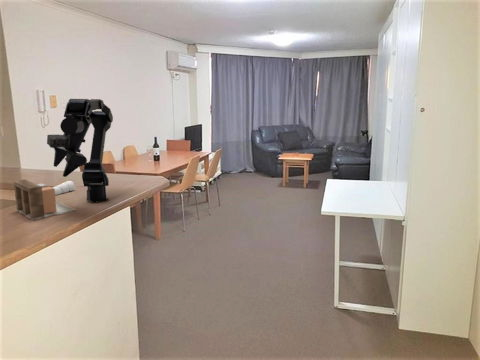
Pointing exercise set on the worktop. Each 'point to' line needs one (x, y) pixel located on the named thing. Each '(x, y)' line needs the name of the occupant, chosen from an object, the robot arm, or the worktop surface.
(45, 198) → the terracotta plug
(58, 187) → the unicorn horn
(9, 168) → the worktop surface
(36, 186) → the socket block
